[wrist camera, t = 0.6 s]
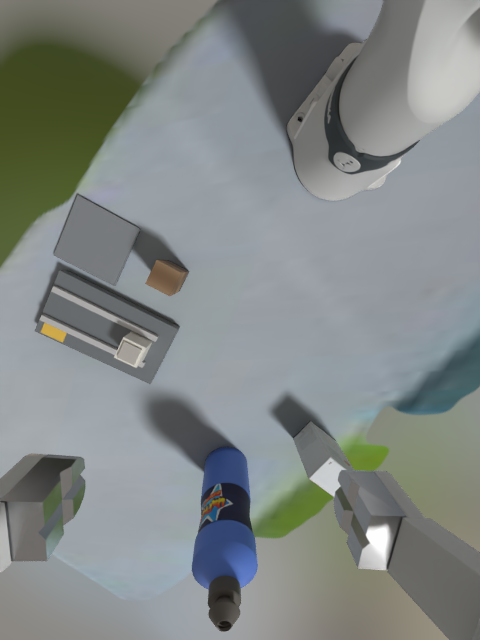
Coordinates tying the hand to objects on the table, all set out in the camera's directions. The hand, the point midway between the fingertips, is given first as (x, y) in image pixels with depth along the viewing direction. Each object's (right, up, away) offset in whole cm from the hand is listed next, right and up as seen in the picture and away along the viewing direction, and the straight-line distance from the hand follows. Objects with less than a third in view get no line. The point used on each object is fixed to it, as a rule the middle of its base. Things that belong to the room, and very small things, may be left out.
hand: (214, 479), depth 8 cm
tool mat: (-24, +19, +36) cm, 47 cm away
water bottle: (-2, -26, +47) cm, 54 cm away
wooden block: (-11, +13, +38) cm, 42 cm away
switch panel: (-23, +4, +39) cm, 46 cm away
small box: (+17, -20, +47) cm, 54 cm away
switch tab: (-18, +1, +38) cm, 42 cm away
